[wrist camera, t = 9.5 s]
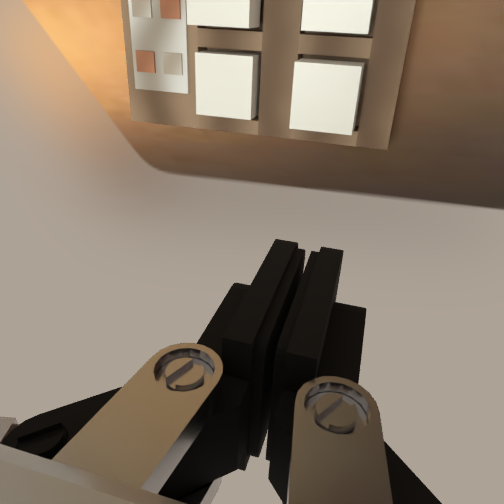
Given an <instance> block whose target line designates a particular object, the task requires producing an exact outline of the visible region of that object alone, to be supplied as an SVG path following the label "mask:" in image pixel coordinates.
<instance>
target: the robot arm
mask: <svg viewBox="0 0 504 504" xmlns="http://www.w3.org/2000/svg"><path fill="white" fill-rule="evenodd" d="M342 257H343V250H338V249H332V248H326V247H321V249H320V252H315V251H311V254H310V256H309V259H308V262H307V265H306V267H305V270H304V273H303V269H304V260H305V250H303V249H298V243H296V242H291V241H284V240H278V239H276V240H275V241H274V243H273V245H272V247H271V249H270V250H269V252H268V254H267V256H266V258H265V260H264V261H263V263H262V265H261V267H260V269H259V271H258V272H257V274H256V276H255V278H254V280H253V282H252V283H251V285H245V284H240V283H234V284H233V286H232V287H231V288H230V290H229V291H228V293H227V295H226V296H225V298H224V300H223V301H222V303H221V305H220V306H219V308H218V310H217V311H216V313H215V315H214V316H213V318H212V319H211V321H210V323H209V324H208V326H207V327H206V329H205V331H204V332H203V334H202V336H201V337H200V339H199V340H198V342H197V344H195V343H180V344H175V345H170V346H168V347H166V348H164V349H161V350H160V351H159V352H157V353H156V354H155V355H153V356H152V357H151V358H150V359H149V360H148V361H147V362H146V363H145V364H144V365H143V366H142V368H140V370H139V371H138V372H137V373H136V374H135V375H134V376H133V377H132V378H131V379H130V380H129V381H128V382H127V383H126V384H125V385H124V386H123V387H120V388H117V389H114V390H111V391H108V392H105V393H102V394H99V395H96V396H93V397H90V398H87V399H84V400H81V401H78V402H75V403H72V404H69V405H66V406H63V407H60V408H57V409H54V410H51V411H48V412H45V413H42V414H39V415H37V416H34V417H32V418H30V419H28V420H25V421H24V422H23V423H21V424H17V421H16V418H10V417H0V504H211V502H212V500H213V498H214V497H215V495H216V493H217V491H218V489H219V486H220V484H221V477H222V476H224V475H226V474H228V473H231V472H233V471H235V470H237V469H241V470H245V469H246V466H247V463H248V460H249V457H250V455H251V456H255V457H259V455H260V452H261V449H262V446H263V443H264V440H265V437H266V434H267V430H268V438H267V449H266V460H269V461H270V467H269V477H268V478H269V480H270V482H271V484H272V485H273V487H274V489H275V490H276V492H277V494H278V495H279V497H280V499H281V500H282V504H442V503H441V502H440V501H439V500H438V499H437V498H436V497H435V496H434V495H433V494H432V492H431V491H430V490H429V489H428V488H427V487H426V486H425V485H424V484H423V483H422V482H421V480H420V479H419V478H418V477H417V476H416V475H415V474H414V473H413V472H412V471H411V470H410V469H409V468H408V466H407V465H406V464H405V463H404V462H403V461H402V460H401V459H400V458H399V457H398V455H397V454H395V452H394V451H393V450H392V449H391V448H390V447H389V446H388V445H387V443H386V442H385V441H384V439H383V432H382V425H381V419H380V412H379V409H378V406H377V403H376V401H375V400H374V398H373V397H372V396H371V394H370V393H369V392H368V391H367V390H365V389H364V388H363V387H362V386H360V385H359V384H358V381H359V372H360V363H361V354H362V345H363V336H364V327H365V318H366V308H362V307H357V306H352V305H347V304H342V303H337V302H335V301H336V295H337V289H338V283H339V276H340V270H341V264H342Z"/></svg>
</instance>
